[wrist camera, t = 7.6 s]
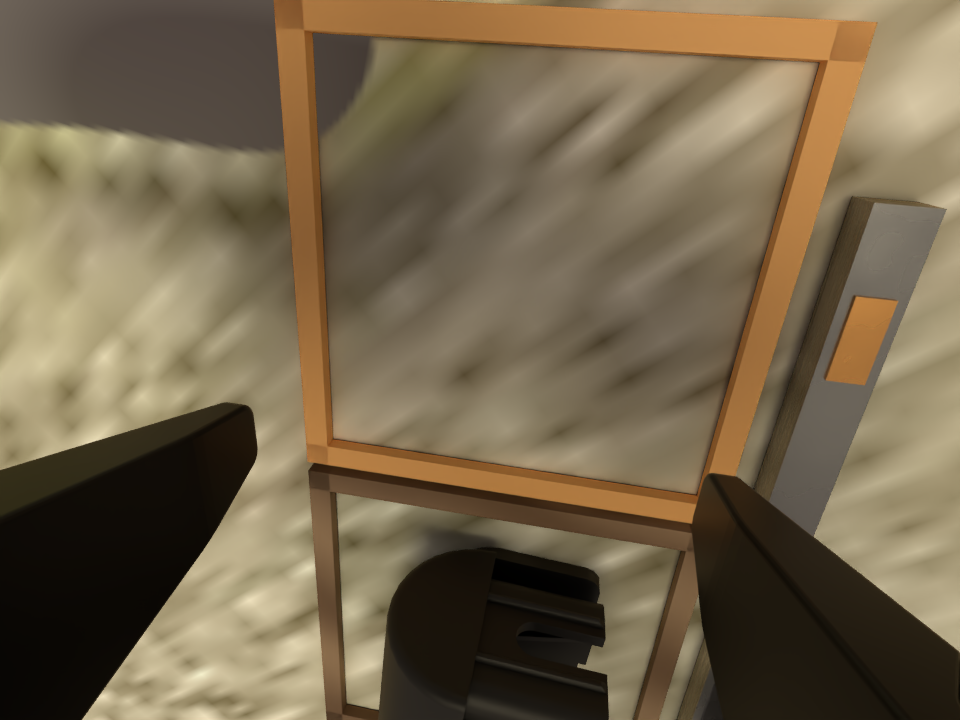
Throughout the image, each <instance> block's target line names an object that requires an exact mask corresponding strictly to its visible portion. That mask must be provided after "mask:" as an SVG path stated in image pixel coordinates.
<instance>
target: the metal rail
mask: <svg viewBox="0 0 960 720" xmlns="http://www.w3.org/2000/svg"><path fill="white" fill-rule="evenodd" d="M945 212H946V209H944V208H940V207H936V206H932V205H928V204H924V203H920V202H911V201H899V200H888V199H876V198H865V197H853V196H852V199H851V202H850V205H849V208H848V211H847V214H846V216H845V219H844V222H843V225H842V228H841V231H840V234H839V237H838V240H837V243H836V246H835V249H834V252H833V255H832V258H831V261H830V264H829V267H828V270H827V273H826V276H825V279H824V282H823V285H822V288H821V291H820V294H819V297H818V300H817V303H816V306H815V309H814V312H813V315H812V318H811V321H810V324H809V327H808V330H807V333H806V336H805V339H804V342H803V345H802V348H801V351H800V354H799V357H798V360H797V363H796V366H795V369H794V372H793V375H792V378H791V381H790V384H789V387H788V390H787V393H786V396H785V399H784V402H783V405H782V408H781V411H780V414H779V416H778V419H777V422H776V425H775V428H774V431H773V434H772V437H771V440H770V443H769V446H768V449H767V452H766V455H765V458H764V461H763V464H762V467H761V470H760V473H759V476H758V479H757V482H756V485H755V488H754V490H755V491H756V492H757V493H758V494H760V495H761V496H762V497H764V498H765V499H766V500H767V501H769V502H770V503H771V504H772V505H774V506H775V507H776V508H777V509H779V510H780V511H781V512H783V513H784V514H785V515H786V516H788V517H789V518H790V519H791V520H793V521H794V522H795V523H797V524H798V525H799V526H800V527H802V528H803V529H804V530H805V531H807V532H808V533H809V534H810V535H812V536H814V534H815V531H816V529H817V526H818V524H819V521H820V519H821V516H822V514H823V512H824V509H825V507H826V504H827V502H828V499H829V497H830V494H831V492H832V489H833V487H834V485H835V482H836V480H837V477H838V475H839V472H840V470H841V467H842V465H843V462H844V460H845V457H846V455H847V453H848V450H849V448H850V445H851V443H852V440H853V438H854V435H855V433H856V430H857V428H858V426H859V423H860V421H861V418H862V416H863V413H864V411H865V408H866V406H867V403H868V401H869V399H870V396H871V394H872V391H873V389H874V386H875V384H876V381H877V379H878V376H879V374H880V372H881V369H882V367H883V364H884V362H885V359H886V357H887V354H888V352H889V349H890V347H891V345H892V342H893V340H894V337H895V335H896V332H897V330H898V327H899V325H900V322H901V320H902V318H903V315H904V313H905V310H906V308H907V305H908V303H909V300H910V298H911V295H912V293H913V290H914V288H915V286H916V283H917V281H918V278H919V276H920V273H921V271H922V268H923V266H924V263H925V261H926V259H927V256H928V254H929V251H930V249H931V246H932V244H933V241H934V239H935V236H936V234H937V232H938V229H939V227H940V224H941V222H942V219H943V217H944V214H945ZM677 720H723V716H722V712H721V708H720V703H719V699H718V695H717V690H716V686H715V682H714V677H713V673H712V669H711V664H710V660H709V656H708V651H707V647H706V642H705V637H704V640H703V643H702V646H701V649H700V652H699V655H698V658H697V661H696V664H695V667H694V670H693V673H692V676H691V679H690V682H689V685H688V688H687V691H686V694H685V697H684V700H683V703H682V706H681V709H680V712H679V715H678V718H677Z"/></svg>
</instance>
